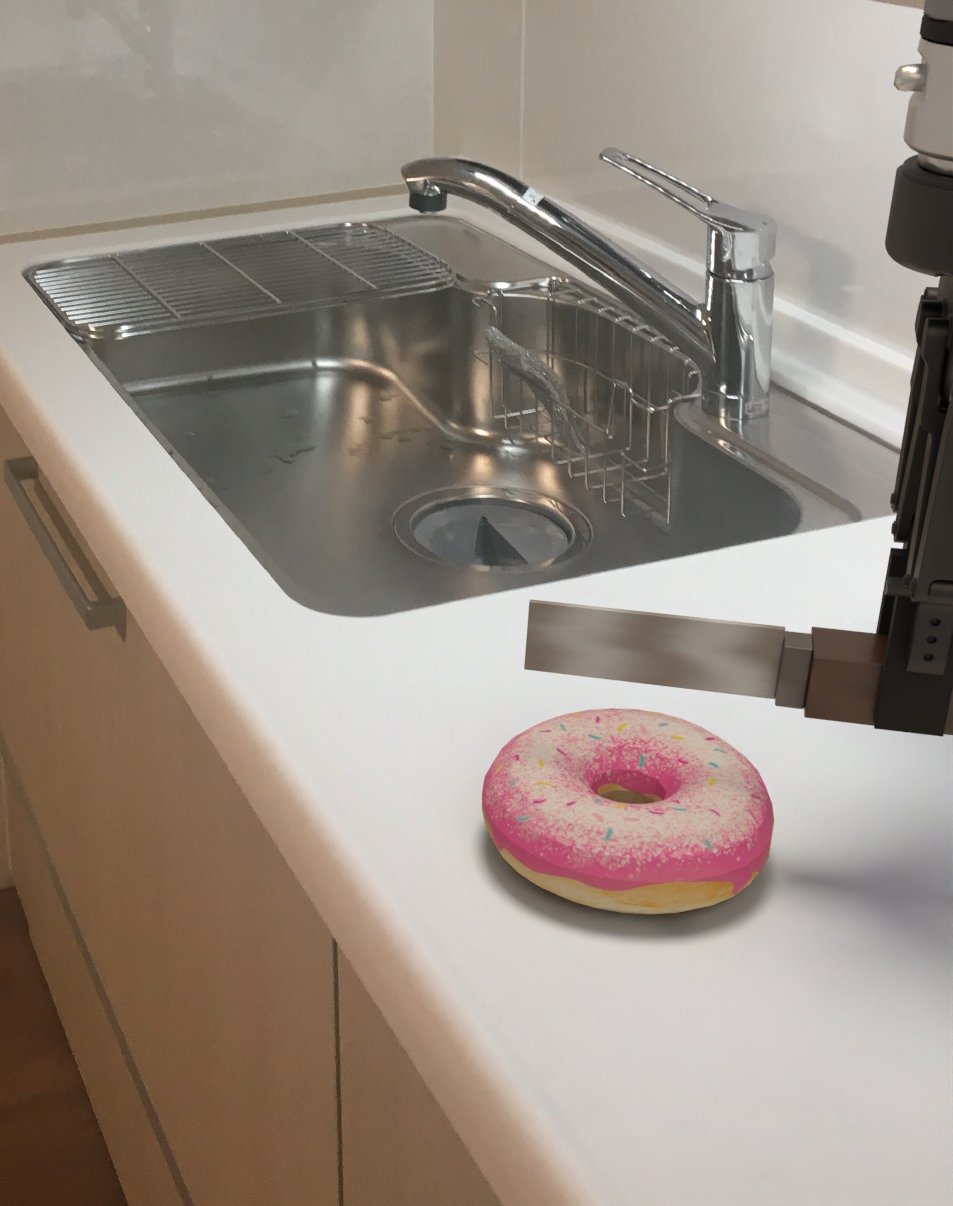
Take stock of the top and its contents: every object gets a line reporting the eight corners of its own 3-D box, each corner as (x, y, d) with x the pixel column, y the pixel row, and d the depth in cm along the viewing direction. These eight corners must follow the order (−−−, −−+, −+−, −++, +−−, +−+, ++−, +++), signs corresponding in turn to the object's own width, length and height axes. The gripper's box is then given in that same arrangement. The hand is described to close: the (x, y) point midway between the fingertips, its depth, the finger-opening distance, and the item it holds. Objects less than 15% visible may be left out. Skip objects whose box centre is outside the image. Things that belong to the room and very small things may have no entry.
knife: (995, 707, 72) (1011, 636, 71) (1004, 742, 69) (1021, 669, 68) (528, 653, 78) (533, 586, 76) (520, 683, 75) (525, 614, 73)
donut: (521, 950, 72) (527, 856, 70) (449, 787, 84) (452, 702, 82) (817, 923, 73) (833, 830, 71) (704, 766, 85) (715, 681, 83)
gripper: (883, 118, 69) (806, 617, 80) (918, 203, 56) (819, 792, 66) (1080, 122, 67) (975, 634, 78) (1167, 212, 53) (1025, 819, 64)
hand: (904, 706), depth 72 cm, fingers closed on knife, 3 cm apart
